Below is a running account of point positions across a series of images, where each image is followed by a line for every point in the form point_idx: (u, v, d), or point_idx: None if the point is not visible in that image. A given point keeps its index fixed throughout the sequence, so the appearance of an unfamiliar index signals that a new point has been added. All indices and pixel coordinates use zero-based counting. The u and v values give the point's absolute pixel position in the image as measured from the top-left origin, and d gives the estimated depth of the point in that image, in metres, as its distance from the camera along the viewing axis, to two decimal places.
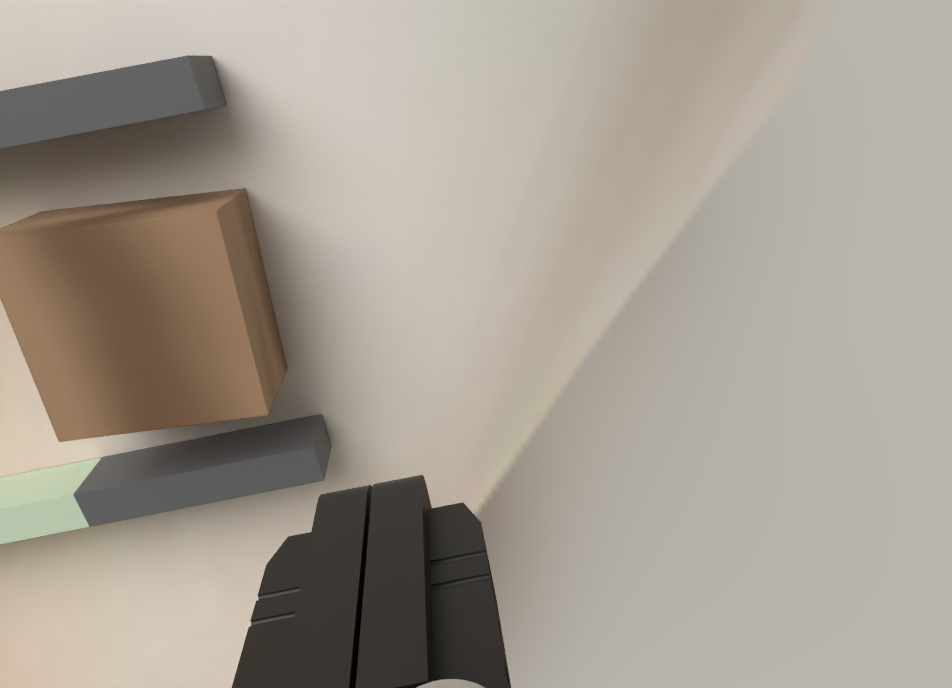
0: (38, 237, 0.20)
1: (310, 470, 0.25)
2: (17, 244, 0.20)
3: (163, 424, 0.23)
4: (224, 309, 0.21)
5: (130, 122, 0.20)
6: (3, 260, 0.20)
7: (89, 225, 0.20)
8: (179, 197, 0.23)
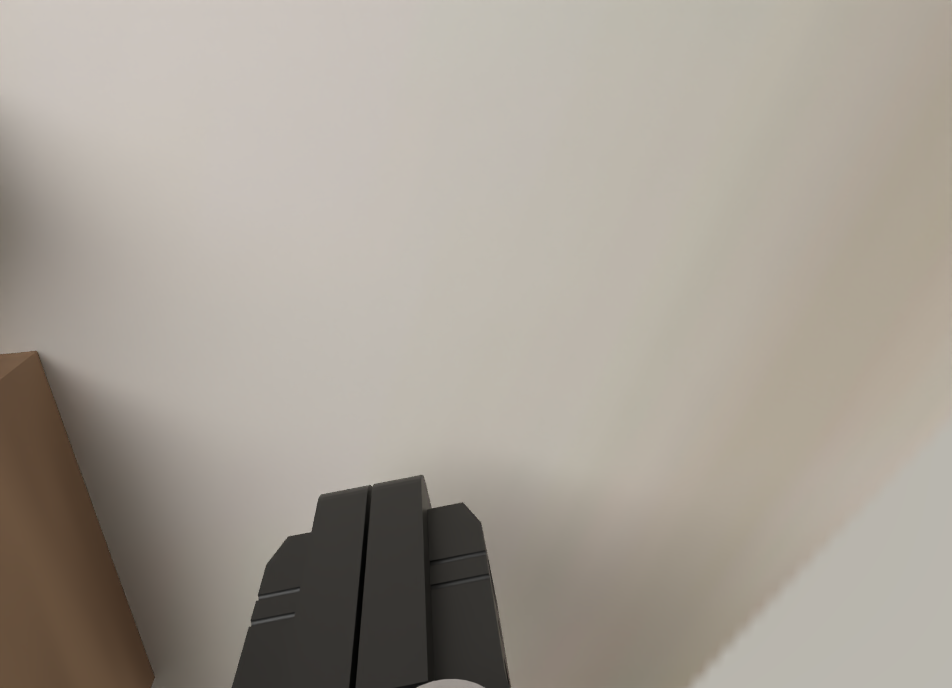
0: None
1: None
2: None
3: None
4: None
5: None
6: None
7: None
8: None
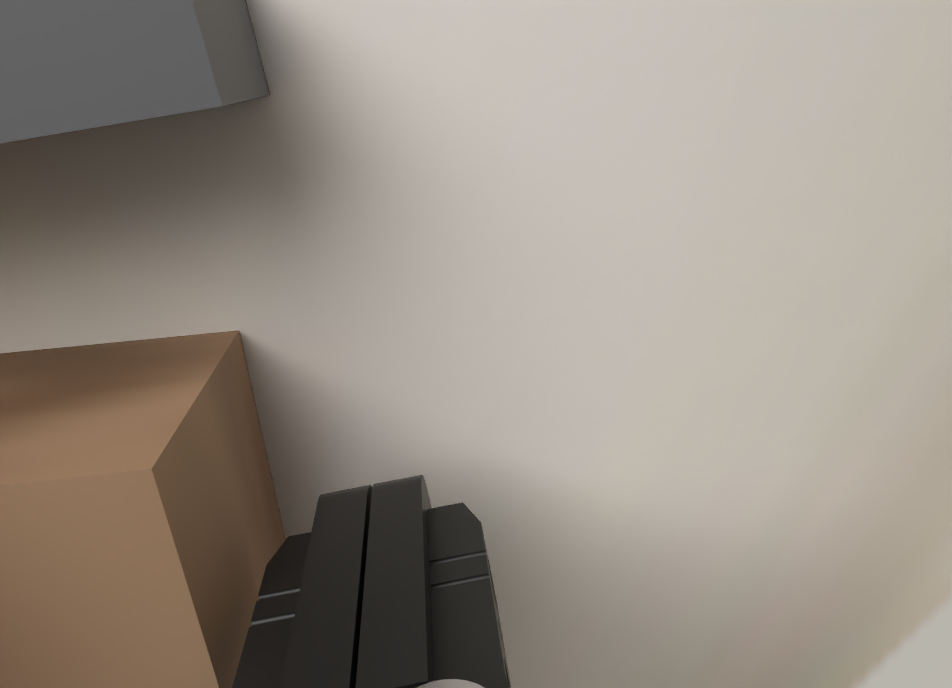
0: None
1: None
2: None
3: None
4: None
5: None
6: None
7: None
8: (83, 352, 0.10)
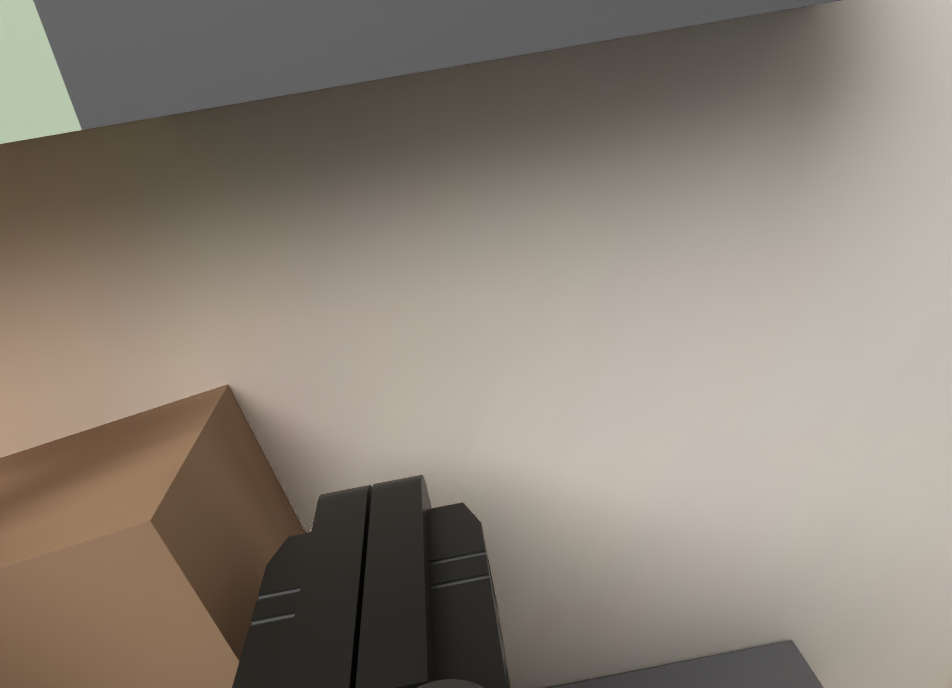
0: None
1: None
2: None
3: None
4: None
5: (746, 12, 0.07)
6: None
7: None
8: None
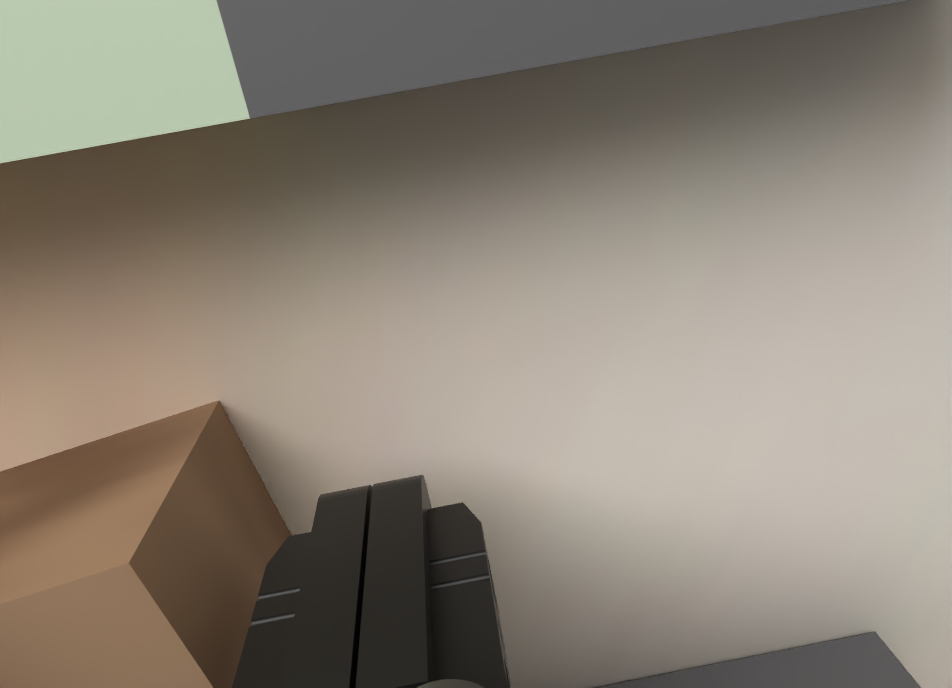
0: None
1: None
2: None
3: None
4: None
5: None
6: None
7: None
8: (82, 452, 0.10)
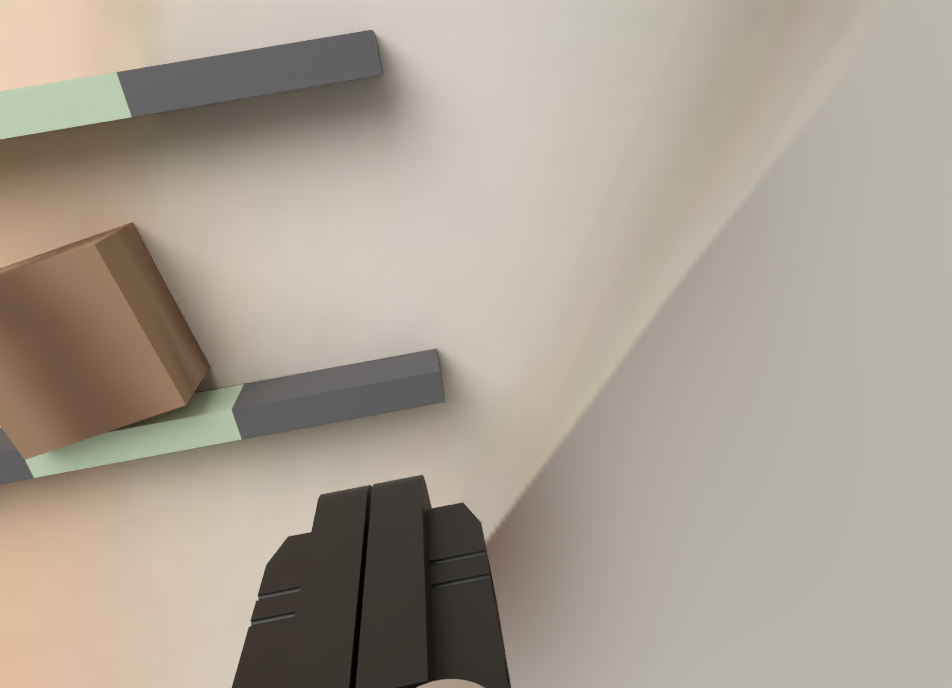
0: None
1: (434, 392, 0.29)
2: None
3: (103, 429, 0.27)
4: (124, 324, 0.25)
5: (319, 84, 0.24)
6: None
7: None
8: (80, 241, 0.27)
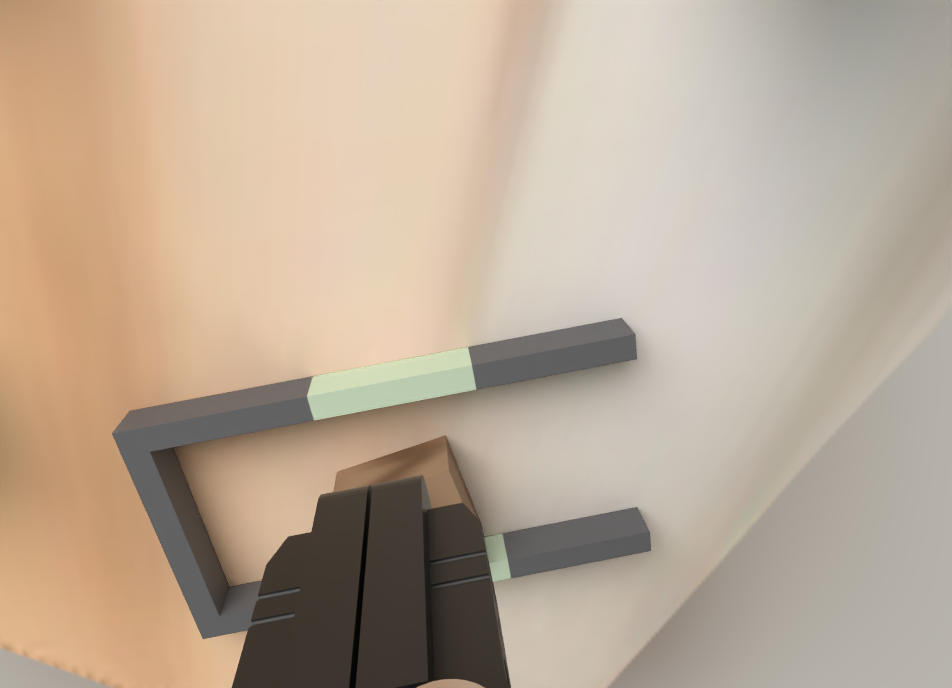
0: None
1: (644, 545, 0.42)
2: None
3: None
4: None
5: (596, 365, 0.37)
6: None
7: None
8: (411, 449, 0.40)
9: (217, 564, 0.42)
